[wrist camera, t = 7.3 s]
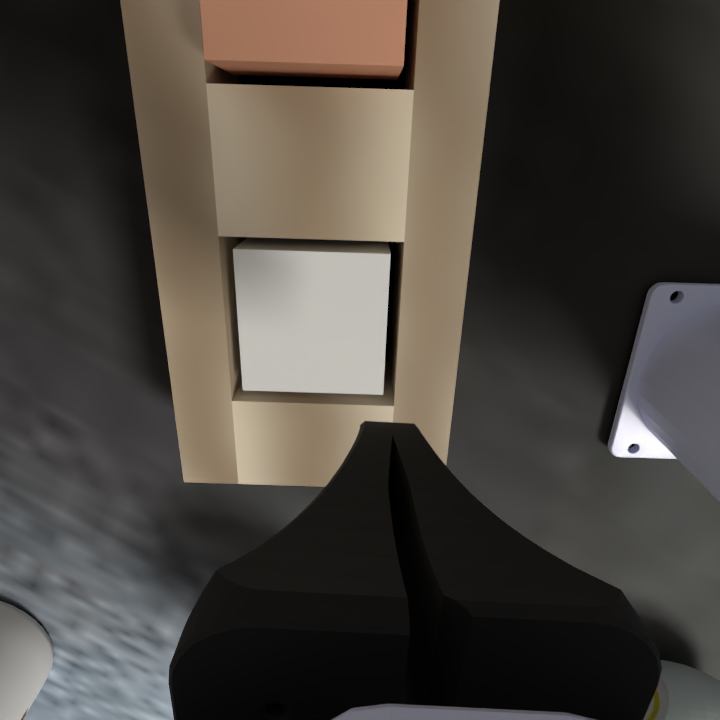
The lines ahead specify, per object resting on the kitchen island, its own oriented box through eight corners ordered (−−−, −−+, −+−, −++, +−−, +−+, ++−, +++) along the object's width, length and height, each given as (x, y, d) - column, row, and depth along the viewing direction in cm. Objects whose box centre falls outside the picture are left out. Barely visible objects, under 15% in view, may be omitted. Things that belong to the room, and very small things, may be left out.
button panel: (500, -275, 14) (548, -424, 10) (431, 435, 23) (443, 490, 19) (142, -287, 14) (62, -440, 10) (212, 428, 23) (183, 482, 19)
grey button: (387, 237, 19) (390, 254, 16) (381, 361, 21) (383, 394, 18) (252, 233, 19) (232, 249, 16) (259, 357, 21) (242, 390, 18)
